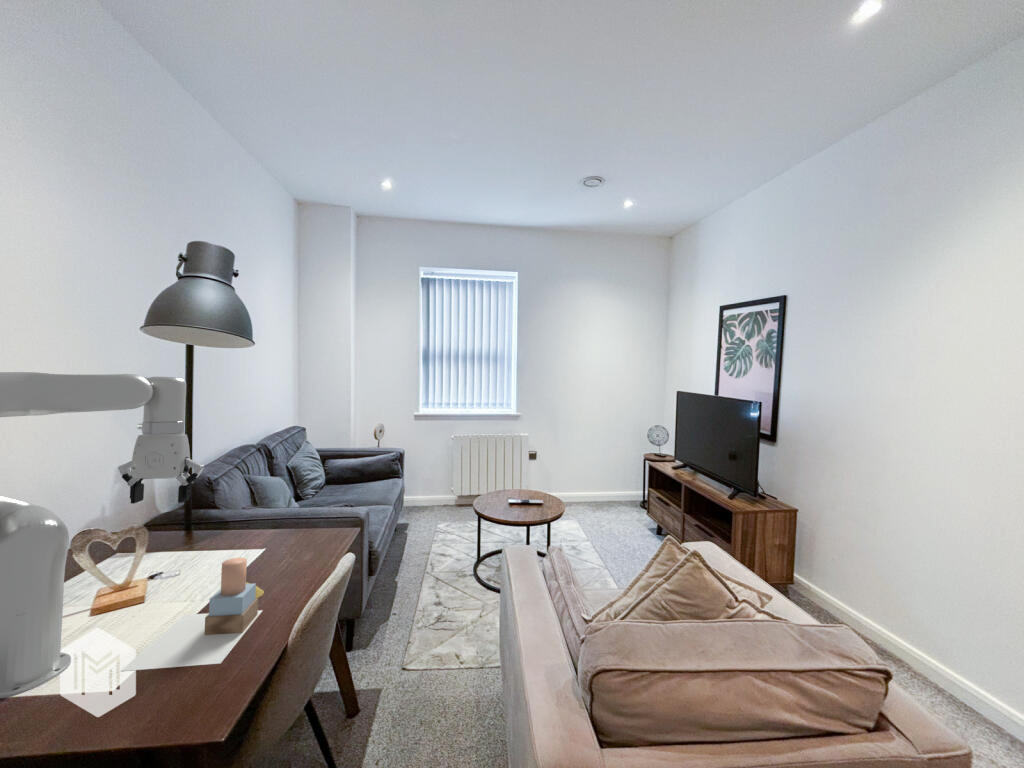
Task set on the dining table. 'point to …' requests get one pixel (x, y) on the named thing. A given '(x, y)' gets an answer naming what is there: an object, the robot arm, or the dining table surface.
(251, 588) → the tower top
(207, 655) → the mat
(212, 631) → the tower base
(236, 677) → the dining table surface
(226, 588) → the cylinder
